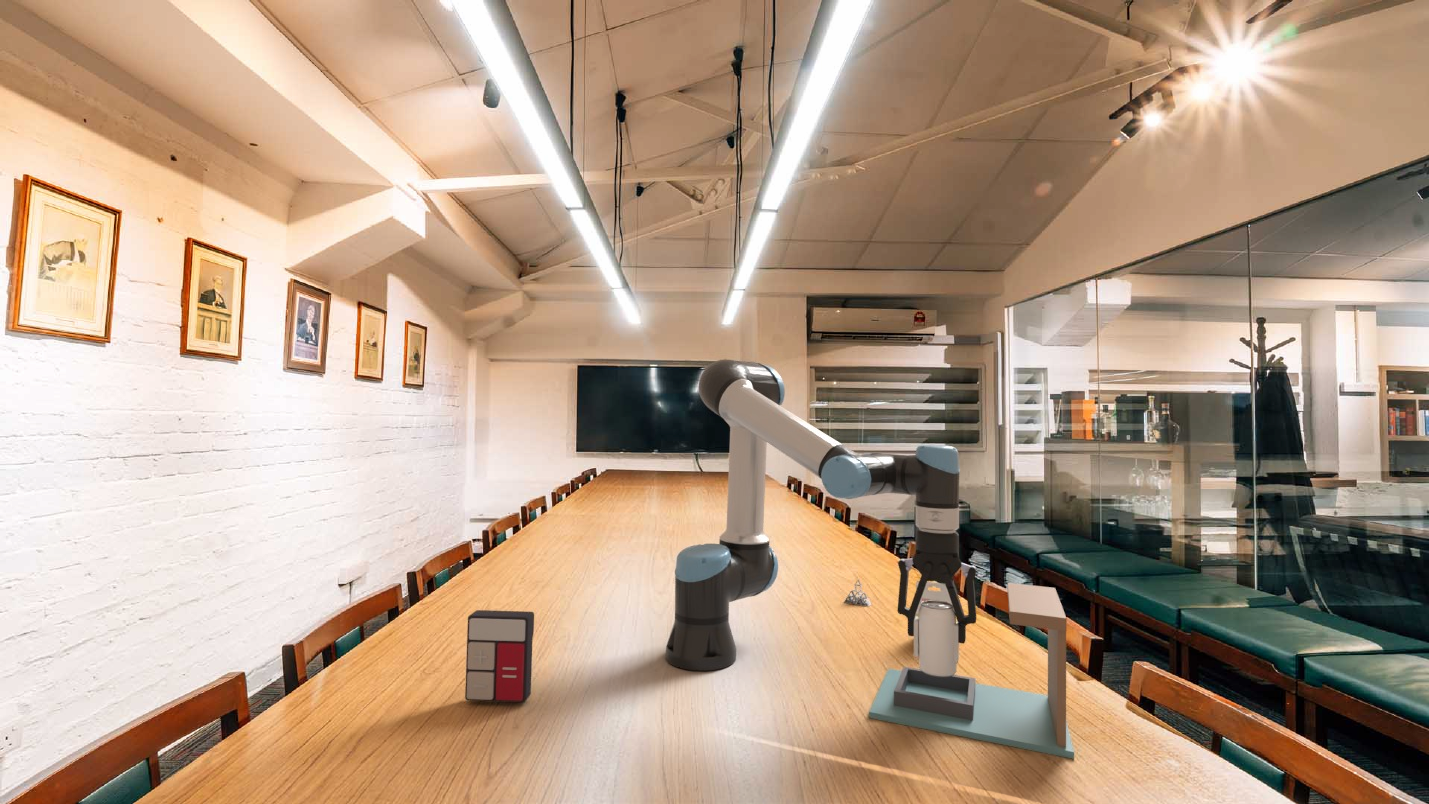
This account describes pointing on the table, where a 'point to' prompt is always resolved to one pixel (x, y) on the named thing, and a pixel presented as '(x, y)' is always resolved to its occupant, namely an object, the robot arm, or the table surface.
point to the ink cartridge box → (934, 594)
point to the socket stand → (991, 690)
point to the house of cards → (857, 599)
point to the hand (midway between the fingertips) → (936, 657)
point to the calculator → (499, 656)
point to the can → (937, 638)
